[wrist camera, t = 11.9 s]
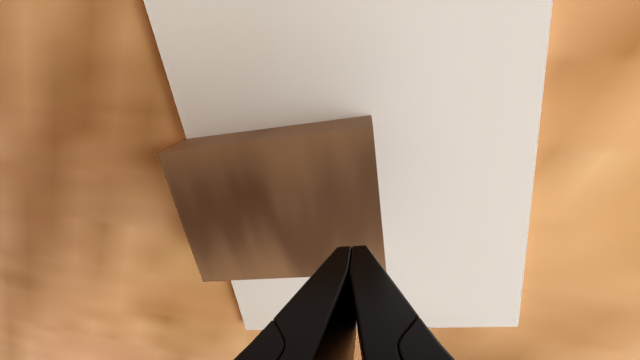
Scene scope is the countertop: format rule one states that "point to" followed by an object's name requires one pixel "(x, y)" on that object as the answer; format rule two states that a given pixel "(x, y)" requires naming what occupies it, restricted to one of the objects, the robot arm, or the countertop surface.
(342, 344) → the robot arm
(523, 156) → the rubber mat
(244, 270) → the walnut slab
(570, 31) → the countertop surface
